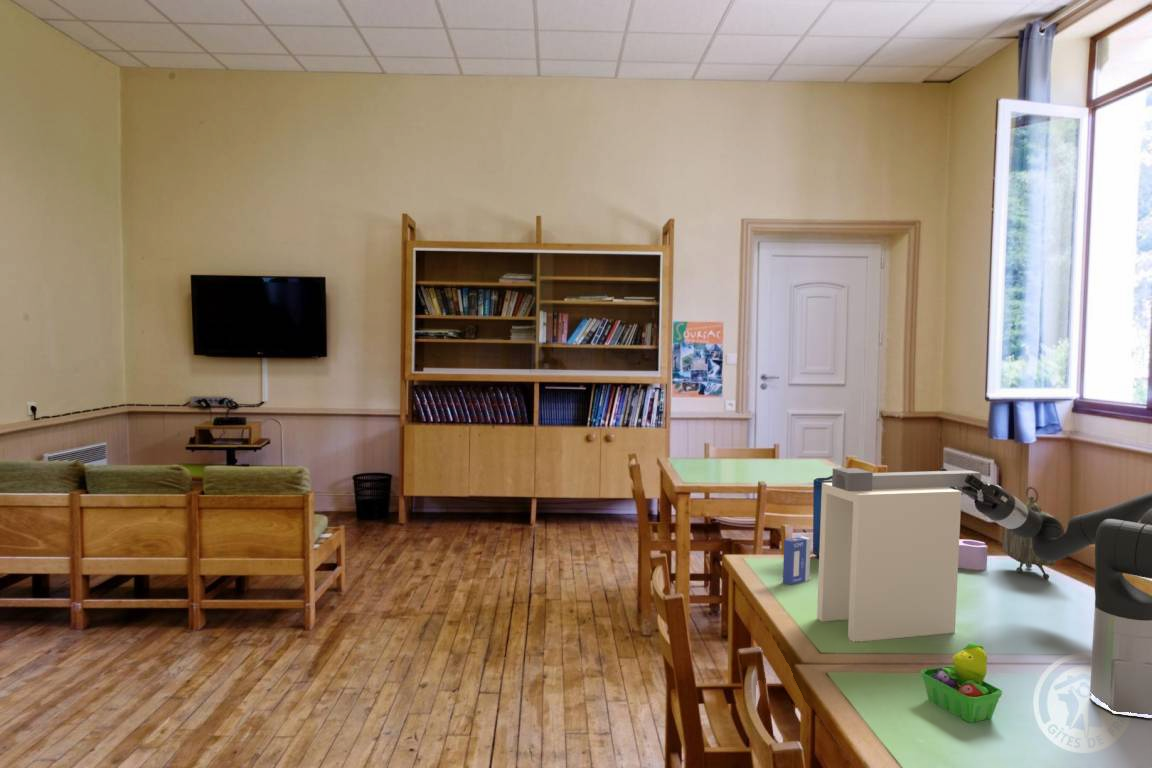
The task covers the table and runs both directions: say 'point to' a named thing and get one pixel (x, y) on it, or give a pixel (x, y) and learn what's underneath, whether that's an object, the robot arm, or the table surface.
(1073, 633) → the table surface
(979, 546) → the pink oval container
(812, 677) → the table surface
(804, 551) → the walkman
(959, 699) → the fruit basket
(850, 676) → the table surface
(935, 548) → the stand
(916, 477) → the grey square-ended bar
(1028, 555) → the tabletop clock
